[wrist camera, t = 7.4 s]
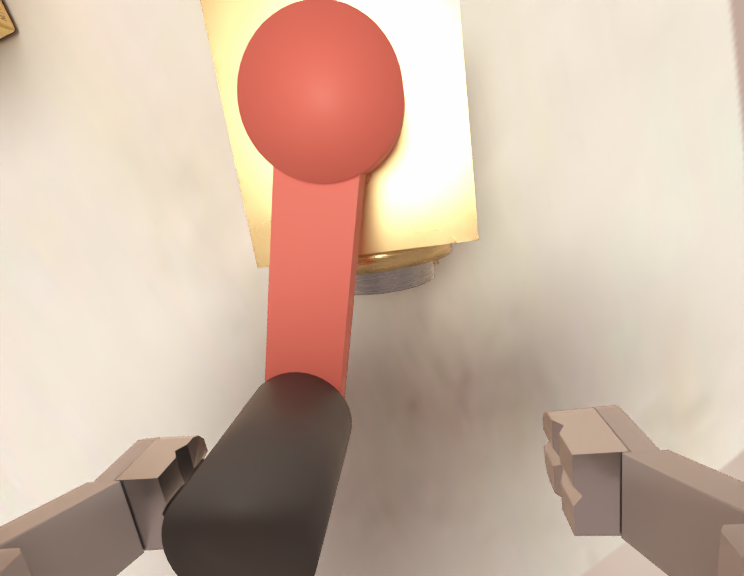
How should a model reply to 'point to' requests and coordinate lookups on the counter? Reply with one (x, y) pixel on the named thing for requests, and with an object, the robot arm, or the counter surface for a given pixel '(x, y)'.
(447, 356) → the counter surface
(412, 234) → the valve
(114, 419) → the counter surface
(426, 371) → the counter surface
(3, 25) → the candy box
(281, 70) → the lever
